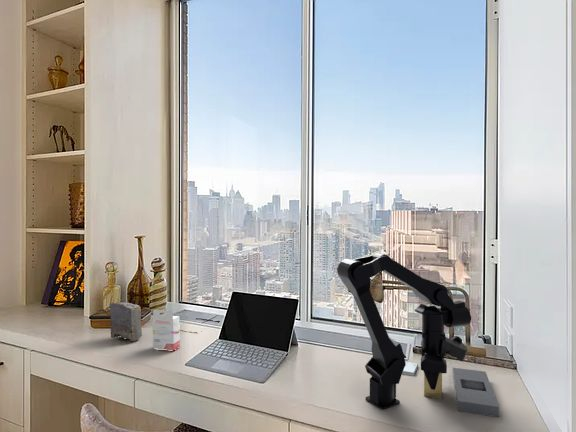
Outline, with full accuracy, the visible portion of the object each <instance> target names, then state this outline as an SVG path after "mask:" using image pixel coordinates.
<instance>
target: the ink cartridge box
mask: <svg viewBox="0 0 576 432" xmlns="http://www.w3.org/2000/svg"><path fill="white" fill-rule="evenodd" d="M180 324H181V323H180V315H174V311H173V310H167V309H153V311H152V349H153V348H158V349H167V350H175V349H177V348H178V347H180V348H181V331H180ZM178 349H179V348H178ZM178 349H177V350H178ZM175 351H176V350H175Z"/></svg>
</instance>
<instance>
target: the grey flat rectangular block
mask: <svg viewBox="0 0 576 432" xmlns="http://www.w3.org/2000/svg"><path fill="white" fill-rule="evenodd" d="M452 380H453V387H454V393H455V398H456V406H457V410H458V412H462V413H463V412H464V413H471V414H477V415H483V416H489V417H496V418H499V417H500V413H499V412H500V409H499V407H500V406H499V404H498V401H497V399H496V396H495V393H494V390H493V388H492V384H491V382H490V380H489V376H488V374H487V371H483V370H478V369H476V370H475V369H467V368H458V367H452Z"/></svg>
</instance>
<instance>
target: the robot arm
mask: <svg viewBox="0 0 576 432" xmlns="http://www.w3.org/2000/svg"><path fill="white" fill-rule="evenodd" d="M336 271H337V275H338V278H340V280H341V281H342V284H344V286H345V288H346V289H348V291H349V292H350V293H351V294H352V297H353V298H354V301H355V304H356V306H357V308H358V310H359V311H358V312H359V313H360V315H361V319H362V320H363V323H364V325H365V328H366V330H367V332H368V335H369V337H370V340H371V354H372V357H371V358H370V359H369V361H368V362H367V363H366V364H365V366H364V368H365V371H366V373H368V375H370V376H371V377H369V395H368V396H366V397H365V400H366V401H368V402H369V403H371V404H372V405H374V406H375V407H378V408H379V409H381V410H385V409H389V408H391V407H394V406H396V405H399V404H400V402H401V401H400V400H399V399H397V385H398V384H400V382H401V377H402V375H403V374H402V372H403V370H404V367H405V366H406V362H407V361H406V358H407V356H406V355H405V354H404V352H403V346H402V345H401V343H400V342H398V341H396V340H394V339H393V338H391V337H390V336H389V334H388V332H387V331H388V330H387V328H386V326H385V324H384V322H383V318H382V316H381V313H380V311H379V309H378V307H377V306H378V305H377V304H376V302H375V299H374V297H373V295H372V291H371V283H372V279H371V278H373V277H375V276H377V275H379V274H380V273H381V272H383V273H385V274H387V275H388V276H390V277H391V278H393V279H395V280H396V281H398V282H399V283H401V284H403V285H404V286H406V287H408V288H409V289H410V290H411V291H412V293H413V294H415V296H416V297H417V298H419V299H420V300H421V301H423V302H425V303H428V304H430V305H426V304H424V303H420V304H419V305H418V306H416V308H415V309H414V312H415V313H418V314H420V315H421V341H420V347H421V348H420V349H421V353H420V355H421V358H420V371H423V375H424V374H425V376H426V378H427V381H428V383H429V386H430V388H431V389H433V390H435V388H436V384H437V380H438V376H439V373H442V374H447V373H448V372H447V370H448V369H447V367H448V365H447V360H446V359H445V357H446V356H447V355H448V356H450V357H453V358H455V359H457V360H458V361H460V362H464V360H465V358H466V356H467V353H468V351H469V350H468V347H467V345H466V344H465V343H462V337H460V336H458V335H454V336H452V338H451V337H446V332H445V327H447V328H456V327H457V328H458V327H465V326H466V327H467V326H469V325H470V324H471V322H472V315H471V312H470V310H469V309H468V307H467V305H466V302H465V301H463V300H456V301H454V300H453V298H451V296H450V295H449V289H448V288H447V287H446V286H445V285H443V284H441V283H438V282H435V281H432V280H430V279H427V278H424V277H422V276H420V275H418V274H417V273H416V272H414V271H412V270H410V269H409V268H407V267H405V266H404V265H403V264H401V263H399V262H398V261H397V260H394V259H393V258H391V256H389V255H388V254H385V253H377V252H376V253H374V254H371V255H367V256H366V255H365V256H362V257H357V258H354V259H351V258H345V259H343V260H341V261H340V262H339V264H338V266H337V267H336Z"/></svg>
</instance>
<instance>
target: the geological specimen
mask: <svg viewBox="0 0 576 432" xmlns="http://www.w3.org/2000/svg"><path fill="white" fill-rule="evenodd" d="M109 315H110V338H112V339H113V338H119V337H121V338H122V337H123V338H122V339H124V338H126V339H130V340H129V341H131V342H136V341H137V340H140V339H141V338H142V336H143V330H142V310H141V306H140V305H138V304H133V303H130V302H129V301H125V302H121V301H118V302H111V303H109ZM118 336H119V337H118ZM126 339H125V340H126Z"/></svg>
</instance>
